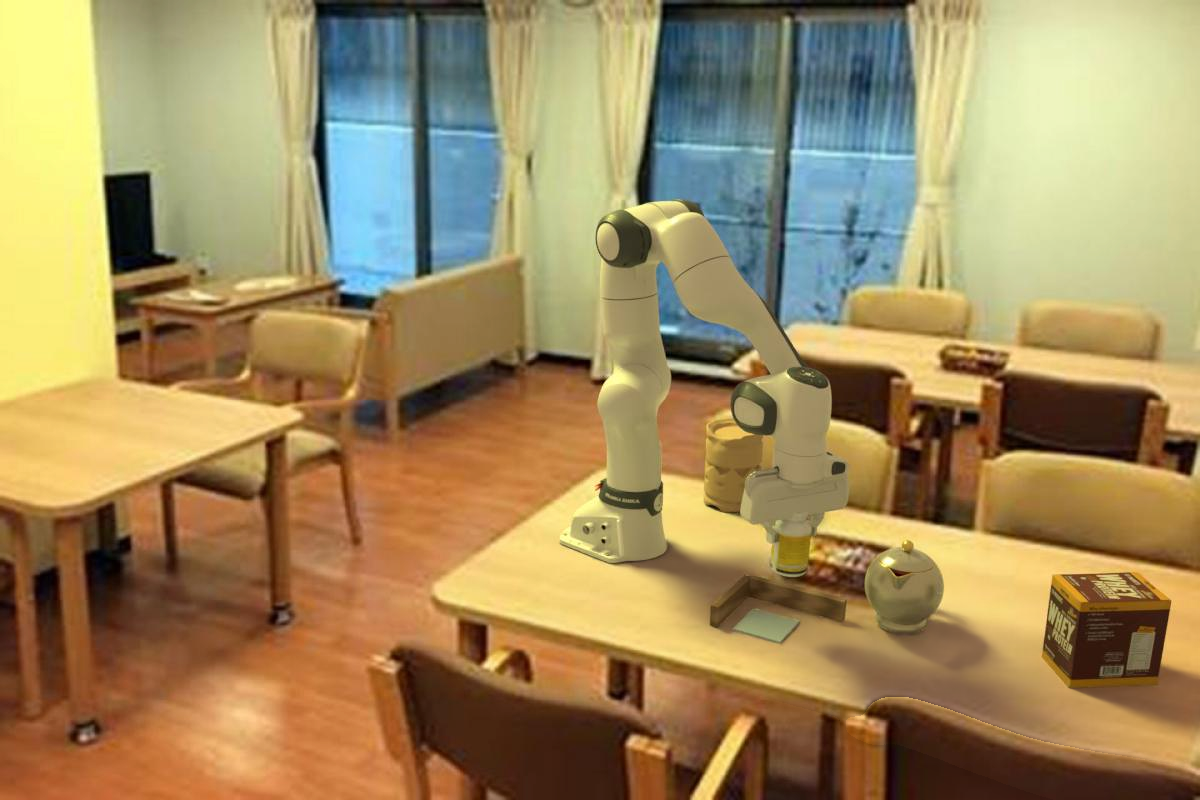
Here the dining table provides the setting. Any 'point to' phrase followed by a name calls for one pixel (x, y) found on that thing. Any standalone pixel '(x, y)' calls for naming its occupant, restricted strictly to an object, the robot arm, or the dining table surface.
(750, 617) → the pad
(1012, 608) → the dining table surface
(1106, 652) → the supplement box
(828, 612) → the wooden l-shaped wall
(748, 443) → the container
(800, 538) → the pill bottle
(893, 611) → the teapot
